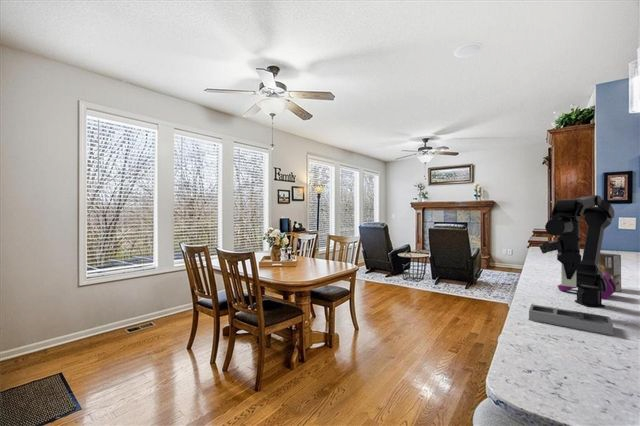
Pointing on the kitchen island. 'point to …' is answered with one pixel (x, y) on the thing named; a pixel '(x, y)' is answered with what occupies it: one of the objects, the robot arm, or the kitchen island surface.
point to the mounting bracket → (605, 294)
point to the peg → (566, 281)
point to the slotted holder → (571, 319)
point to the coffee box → (611, 267)
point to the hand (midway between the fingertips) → (568, 278)
